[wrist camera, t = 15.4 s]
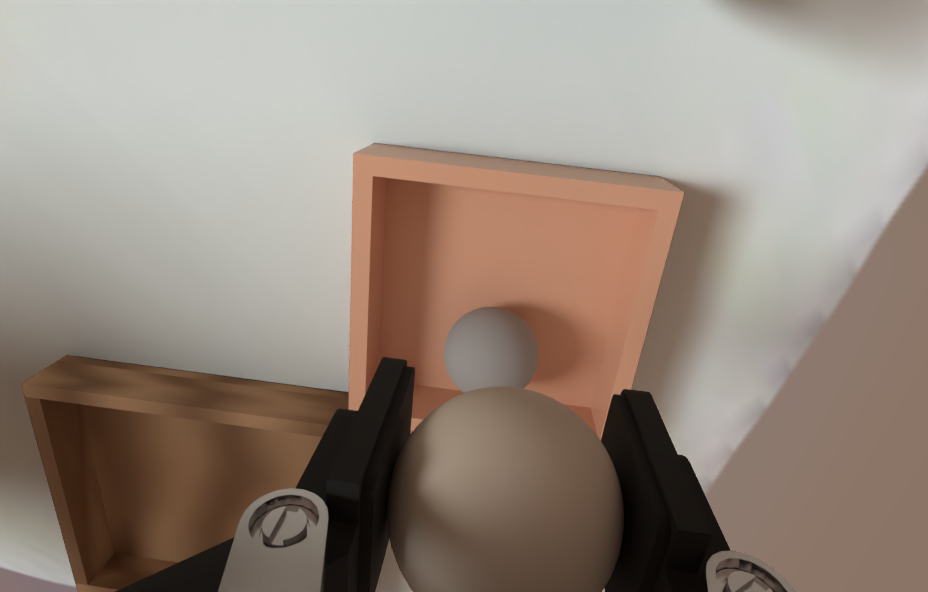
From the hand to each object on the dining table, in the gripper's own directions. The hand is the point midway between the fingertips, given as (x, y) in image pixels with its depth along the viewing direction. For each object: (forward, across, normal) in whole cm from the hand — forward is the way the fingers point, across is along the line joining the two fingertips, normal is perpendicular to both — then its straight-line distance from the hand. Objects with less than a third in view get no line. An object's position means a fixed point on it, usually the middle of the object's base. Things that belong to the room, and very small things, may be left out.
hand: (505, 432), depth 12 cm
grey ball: (+14, 0, +5) cm, 15 cm away
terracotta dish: (+15, 0, +2) cm, 15 cm away
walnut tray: (+14, +15, +18) cm, 27 cm away
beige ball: (0, 0, 0) cm, 0 cm away
